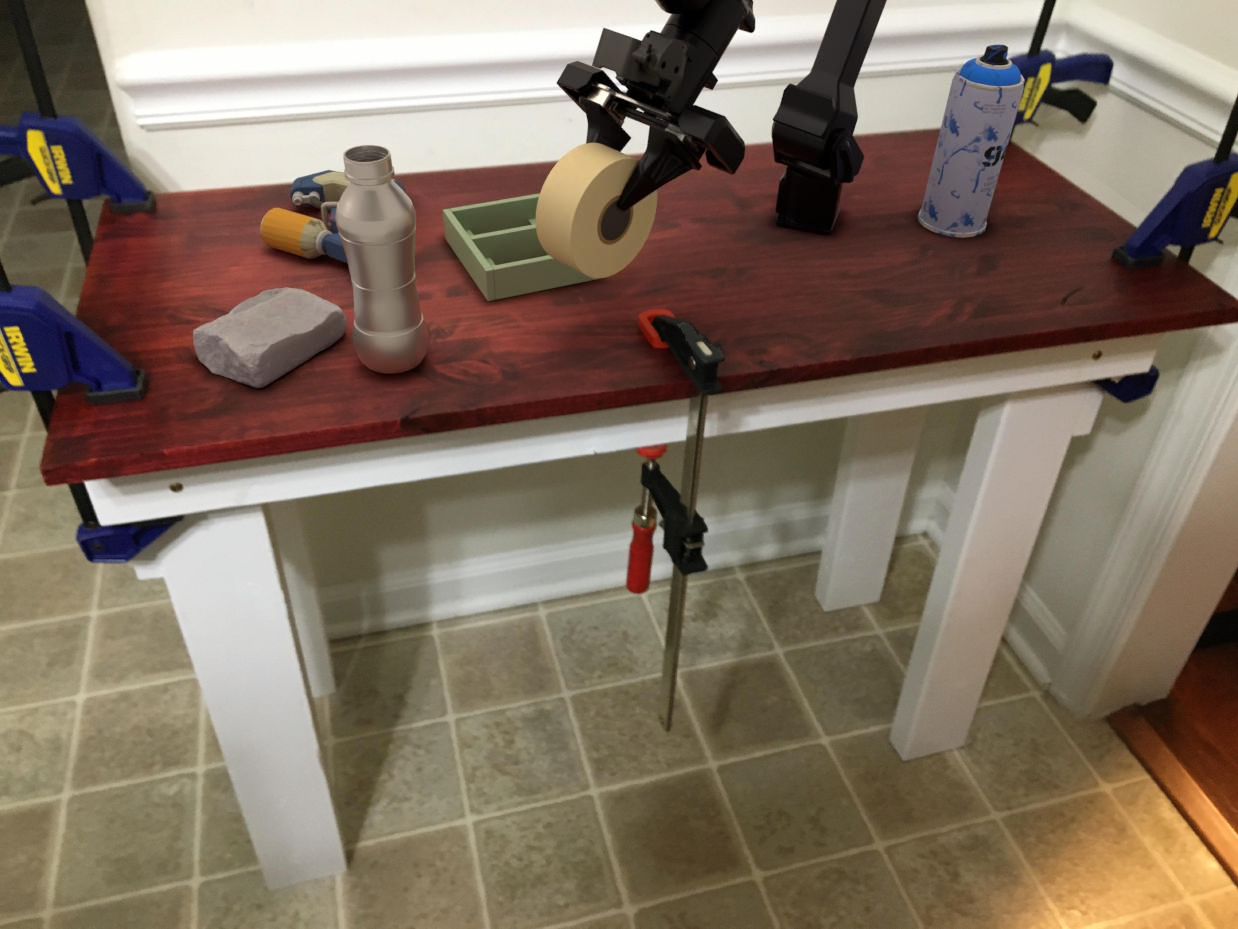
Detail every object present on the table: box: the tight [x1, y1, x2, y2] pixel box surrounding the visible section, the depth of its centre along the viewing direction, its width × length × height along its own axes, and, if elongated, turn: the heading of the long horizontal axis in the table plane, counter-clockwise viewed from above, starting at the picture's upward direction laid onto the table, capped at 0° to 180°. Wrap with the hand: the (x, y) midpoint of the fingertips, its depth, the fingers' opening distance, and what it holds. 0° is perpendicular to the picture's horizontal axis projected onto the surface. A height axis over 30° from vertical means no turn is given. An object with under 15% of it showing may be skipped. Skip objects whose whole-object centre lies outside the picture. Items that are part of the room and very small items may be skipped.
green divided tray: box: [442, 192, 599, 302], centre depth 108 cm, size 12×14×4 cm
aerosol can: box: [917, 44, 1025, 239], centre depth 112 cm, size 8×8×20 cm
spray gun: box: [259, 169, 407, 265], centre depth 111 cm, size 21×4×15 cm
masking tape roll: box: [536, 142, 658, 279], centre depth 91 cm, size 11×5×11 cm, turn 136°
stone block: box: [192, 286, 348, 389], centre depth 93 cm, size 12×5×10 cm
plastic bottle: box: [335, 144, 430, 375], centre depth 87 cm, size 6×7×20 cm
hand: (600, 199), depth 90 cm, fingers closed on masking tape roll, 5 cm apart
